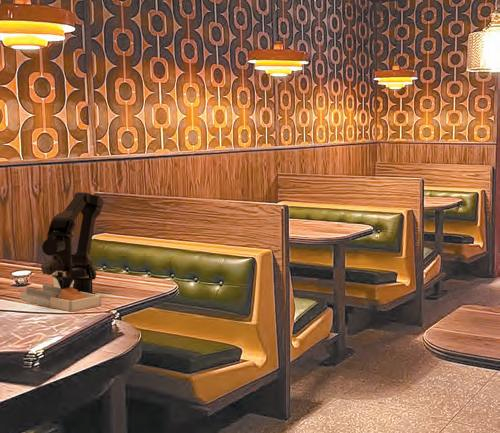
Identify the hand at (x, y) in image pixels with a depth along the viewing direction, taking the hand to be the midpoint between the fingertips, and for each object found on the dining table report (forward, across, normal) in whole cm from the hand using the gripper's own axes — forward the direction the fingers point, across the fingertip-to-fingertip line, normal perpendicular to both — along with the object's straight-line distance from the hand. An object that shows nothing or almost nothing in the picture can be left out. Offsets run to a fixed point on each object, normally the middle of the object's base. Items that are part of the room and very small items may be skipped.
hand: (64, 294), depth 252 cm
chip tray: (+3, +7, 0) cm, 7 cm away
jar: (+4, -27, +18) cm, 33 cm away
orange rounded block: (+2, +3, 0) cm, 4 cm away
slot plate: (+3, -9, 0) cm, 9 cm away
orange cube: (0, +5, 0) cm, 5 cm away
